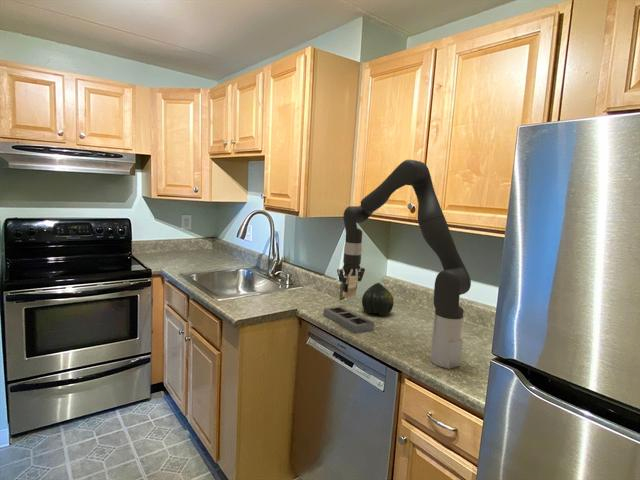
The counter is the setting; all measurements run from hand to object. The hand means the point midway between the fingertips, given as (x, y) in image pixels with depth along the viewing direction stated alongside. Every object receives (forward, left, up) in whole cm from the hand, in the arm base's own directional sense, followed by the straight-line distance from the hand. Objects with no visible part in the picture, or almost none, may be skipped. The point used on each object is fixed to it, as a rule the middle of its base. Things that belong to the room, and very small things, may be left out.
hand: (349, 291), depth 164 cm
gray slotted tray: (0, 0, -14) cm, 14 cm away
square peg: (0, 0, -3) cm, 3 cm away
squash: (+5, -21, -14) cm, 26 cm away
